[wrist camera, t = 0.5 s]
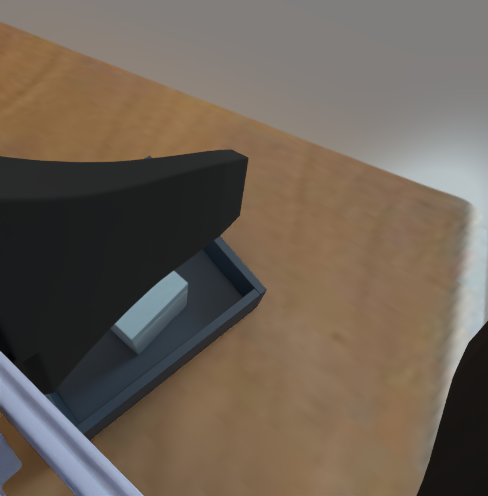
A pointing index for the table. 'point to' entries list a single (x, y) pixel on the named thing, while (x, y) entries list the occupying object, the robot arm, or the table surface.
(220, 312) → the storage box
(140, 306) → the light blue case
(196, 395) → the table surface
